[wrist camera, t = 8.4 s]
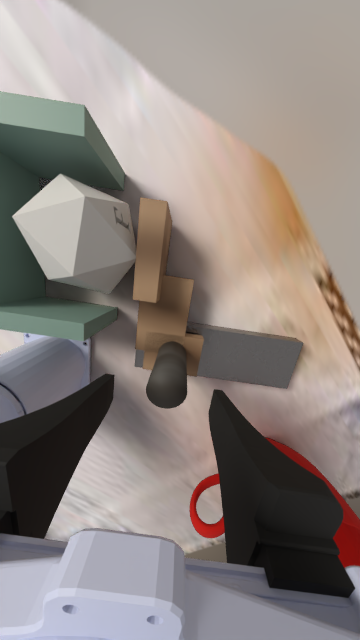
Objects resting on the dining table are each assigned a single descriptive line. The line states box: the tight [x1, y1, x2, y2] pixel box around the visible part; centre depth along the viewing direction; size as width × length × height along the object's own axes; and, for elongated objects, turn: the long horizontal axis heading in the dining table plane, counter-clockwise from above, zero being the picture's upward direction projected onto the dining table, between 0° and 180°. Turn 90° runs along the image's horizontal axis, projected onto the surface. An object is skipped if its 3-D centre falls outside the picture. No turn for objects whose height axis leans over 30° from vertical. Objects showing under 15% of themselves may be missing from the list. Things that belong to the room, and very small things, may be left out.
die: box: [12, 173, 136, 294], centre depth 15 cm, size 8×9×10 cm
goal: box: [0, 91, 125, 341], centre depth 15 cm, size 15×10×7 cm, turn 172°
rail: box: [135, 322, 303, 389], centre depth 21 cm, size 6×18×2 cm, turn 82°
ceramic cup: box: [190, 438, 360, 568], centre depth 21 cm, size 13×17×10 cm
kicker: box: [133, 197, 204, 408], centre depth 15 cm, size 16×7×9 cm, turn 172°
